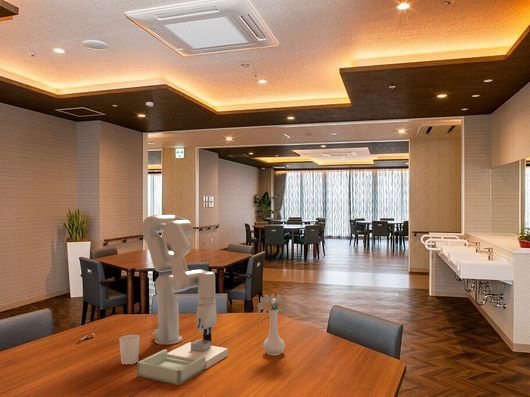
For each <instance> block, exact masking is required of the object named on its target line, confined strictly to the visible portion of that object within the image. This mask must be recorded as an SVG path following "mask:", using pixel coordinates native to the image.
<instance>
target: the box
mask: <svg viewBox="0 0 530 397" xmlns="http://www.w3.org/2000/svg"><path fill="white" fill-rule="evenodd" d="M167 353H168V349H163V350H160V351H158V352H156V353H154V354H152V355H149V356H148V357H145V358H143V359H141V360H138V362H137V363H136V365H137V366H136V375H137V377H140V376H141V377H142V378H145V377H146V378H145V379H149V378H150V380H155V381H159V382H164V383H167V384H172V385H175V386H177V385H178V386H181V385H182V384H184V383H186V382H188V381H189V380H190V379H192V378H194V377H196V376H197V375H199V374H200V373H202V372H204V371H205V370H207V369H206V356H202V357H200V358H199V359H197V360H195V361H193V362H191V361H186V360H181V359H176V358H170V357H167Z"/></svg>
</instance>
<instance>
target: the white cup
mask: <svg viewBox="0 0 530 397" xmlns="http://www.w3.org/2000/svg"><path fill="white" fill-rule="evenodd" d="M118 340H119V354H120V364H121V363H122V364H121V365H124V364H126V365H125V366H128V365H127V364H131V365H134V363H135V364H137V363H136V362H139V354H140V335H138V334H127V335H123V336H120V337H119V338H118Z"/></svg>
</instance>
